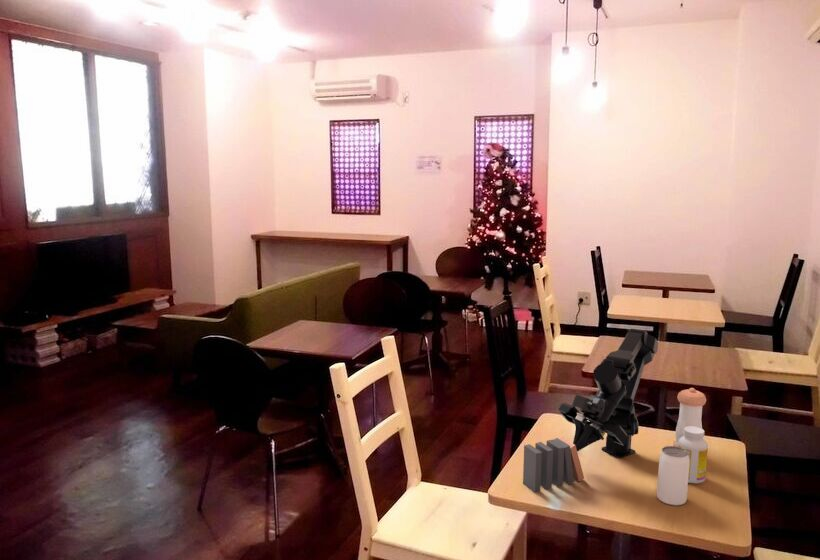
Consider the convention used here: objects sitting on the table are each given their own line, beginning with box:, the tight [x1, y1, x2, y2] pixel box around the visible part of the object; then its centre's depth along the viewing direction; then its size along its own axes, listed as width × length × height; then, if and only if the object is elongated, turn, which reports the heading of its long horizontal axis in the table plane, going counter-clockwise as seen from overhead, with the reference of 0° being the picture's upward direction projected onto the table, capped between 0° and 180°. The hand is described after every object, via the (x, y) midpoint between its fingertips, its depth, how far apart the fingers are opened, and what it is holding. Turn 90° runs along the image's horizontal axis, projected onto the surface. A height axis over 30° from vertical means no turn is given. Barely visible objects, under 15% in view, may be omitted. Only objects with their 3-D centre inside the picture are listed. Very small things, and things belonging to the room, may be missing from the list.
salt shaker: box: [672, 387, 707, 447], centre depth 172 cm, size 7×7×19 cm
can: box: [656, 445, 689, 507], centre depth 151 cm, size 6×6×12 cm
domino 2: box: [534, 441, 553, 491], centre depth 158 cm, size 2×5×10 cm, turn 24°
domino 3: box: [545, 439, 565, 488], centre depth 159 cm, size 2×5×10 cm, turn 24°
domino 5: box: [559, 437, 585, 483], centre depth 161 cm, size 2×5×10 cm, turn 24°
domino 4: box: [552, 437, 575, 486], centre depth 160 cm, size 2×5×10 cm, turn 24°
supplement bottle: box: [678, 426, 709, 485], centre depth 161 cm, size 7×7×13 cm
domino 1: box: [522, 444, 542, 494], centre depth 156 cm, size 2×5×10 cm, turn 24°
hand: (573, 451), depth 161 cm, fingers closed
